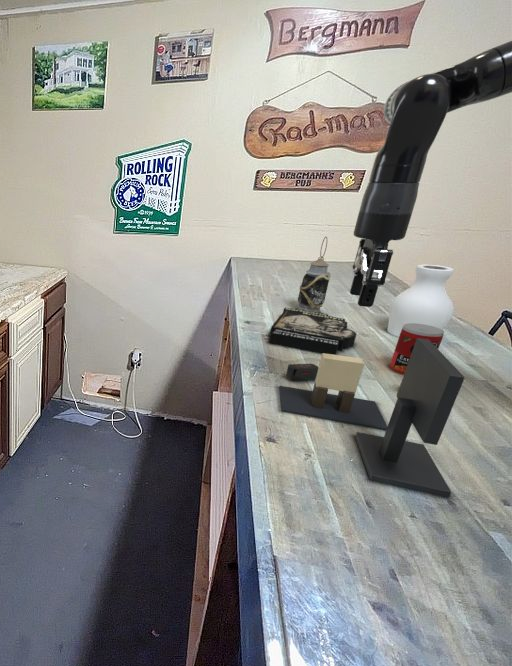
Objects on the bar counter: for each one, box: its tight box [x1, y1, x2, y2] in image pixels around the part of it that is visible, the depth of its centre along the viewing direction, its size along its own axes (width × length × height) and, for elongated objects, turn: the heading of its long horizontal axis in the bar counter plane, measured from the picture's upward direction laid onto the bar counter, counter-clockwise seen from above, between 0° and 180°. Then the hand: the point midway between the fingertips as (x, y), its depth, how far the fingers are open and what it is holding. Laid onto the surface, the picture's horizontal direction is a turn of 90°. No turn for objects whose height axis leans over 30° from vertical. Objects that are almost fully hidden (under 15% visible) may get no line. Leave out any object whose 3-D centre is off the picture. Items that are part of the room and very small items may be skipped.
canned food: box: [389, 323, 445, 376], centre depth 109 cm, size 8×8×11 cm
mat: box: [279, 385, 388, 432], centre depth 95 cm, size 18×12×1 cm, turn 65°
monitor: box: [354, 338, 466, 499], centre depth 73 cm, size 10×16×20 cm, turn 155°
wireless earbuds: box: [285, 363, 319, 382], centre depth 108 cm, size 5×7×3 cm, turn 95°
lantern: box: [297, 236, 332, 313], centre depth 152 cm, size 9×8×25 cm
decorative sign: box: [268, 307, 357, 355], centre depth 134 cm, size 21×3×30 cm
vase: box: [386, 264, 455, 338], centre depth 131 cm, size 14×14×20 cm
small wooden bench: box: [311, 353, 365, 413], centre depth 93 cm, size 7×4×11 cm, turn 65°
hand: (360, 300), depth 86 cm, fingers open, 8 cm apart
